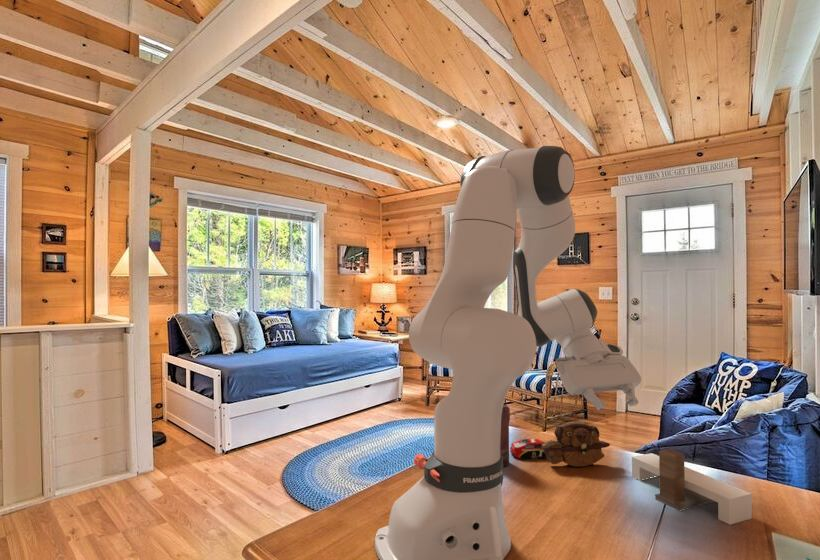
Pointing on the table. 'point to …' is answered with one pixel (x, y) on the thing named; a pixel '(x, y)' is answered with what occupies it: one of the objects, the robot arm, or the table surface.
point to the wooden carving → (575, 445)
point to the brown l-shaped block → (676, 483)
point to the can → (505, 434)
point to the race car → (528, 449)
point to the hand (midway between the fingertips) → (618, 406)
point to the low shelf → (702, 489)
